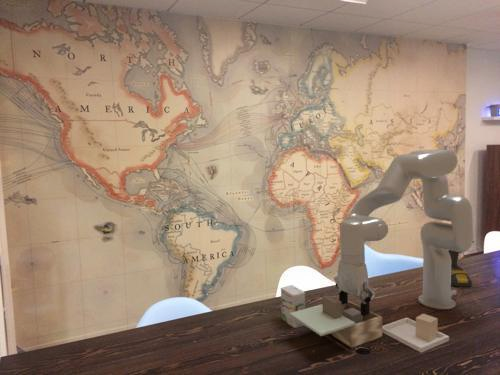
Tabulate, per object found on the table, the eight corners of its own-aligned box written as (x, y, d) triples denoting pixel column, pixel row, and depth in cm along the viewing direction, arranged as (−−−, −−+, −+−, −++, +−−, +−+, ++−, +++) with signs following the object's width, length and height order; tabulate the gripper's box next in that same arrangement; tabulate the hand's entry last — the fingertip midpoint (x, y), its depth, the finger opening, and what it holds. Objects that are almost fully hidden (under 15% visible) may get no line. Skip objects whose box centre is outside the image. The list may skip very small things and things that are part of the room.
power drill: (483, 292, 145) (485, 232, 143) (461, 293, 145) (462, 233, 143) (455, 276, 165) (456, 223, 163) (436, 276, 165) (437, 224, 163)
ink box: (280, 318, 127) (280, 287, 126) (292, 315, 129) (291, 284, 128) (294, 328, 119) (293, 294, 118) (306, 325, 121) (305, 292, 120)
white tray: (406, 322, 121) (406, 317, 121) (448, 342, 107) (449, 336, 107) (379, 332, 115) (379, 326, 114) (421, 354, 101) (421, 348, 101)
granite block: (352, 324, 119) (352, 307, 118) (362, 330, 115) (362, 312, 114) (342, 328, 117) (342, 310, 116) (352, 333, 113) (352, 315, 112)
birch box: (347, 318, 125) (347, 299, 124) (382, 338, 111) (382, 316, 111) (318, 328, 119) (317, 308, 118) (351, 349, 105) (351, 327, 105)
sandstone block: (423, 331, 113) (423, 313, 113) (437, 336, 110) (437, 318, 109) (415, 335, 111) (415, 317, 110) (430, 341, 107) (430, 322, 107)
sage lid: (321, 306, 119) (321, 289, 119) (355, 324, 105) (355, 306, 105) (289, 315, 113) (289, 298, 112) (321, 336, 99) (320, 316, 99)
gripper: (325, 254, 120) (327, 302, 121) (364, 267, 104) (365, 322, 106) (342, 250, 123) (344, 297, 125) (382, 262, 108) (383, 315, 110)
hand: (354, 308), depth 115 cm, fingers open, 9 cm apart
